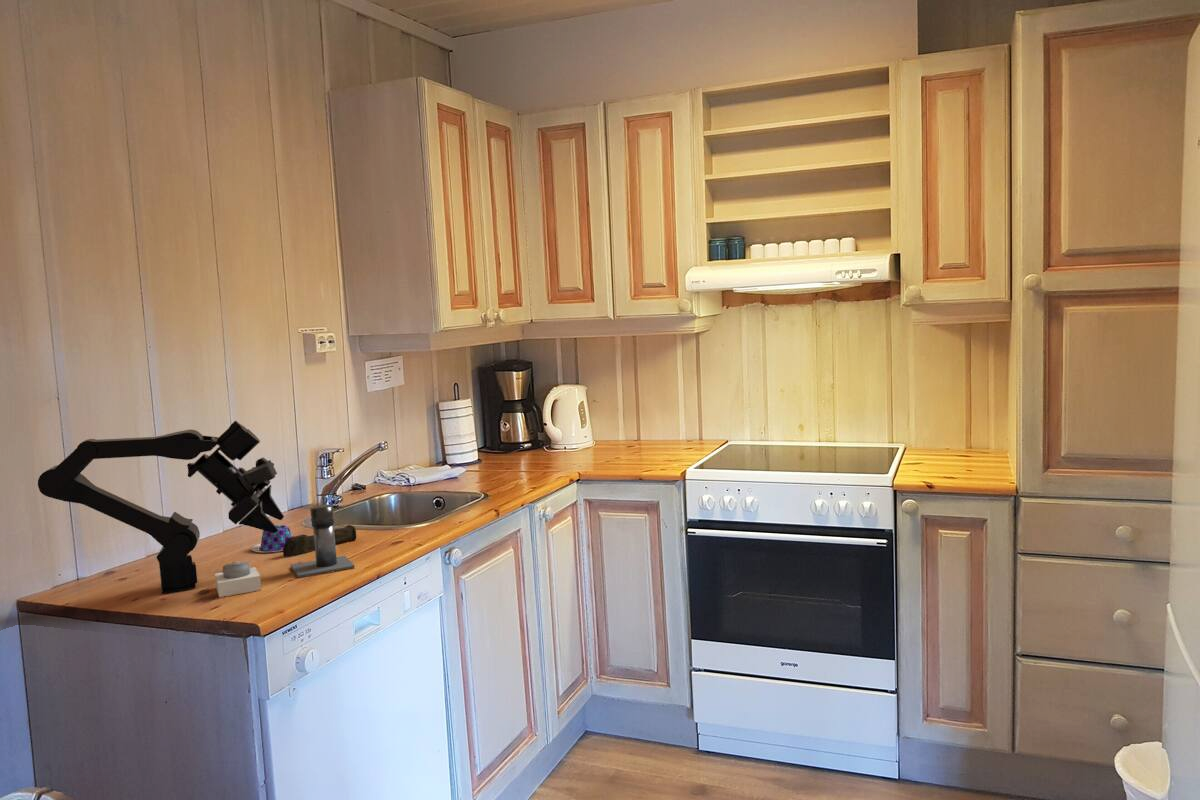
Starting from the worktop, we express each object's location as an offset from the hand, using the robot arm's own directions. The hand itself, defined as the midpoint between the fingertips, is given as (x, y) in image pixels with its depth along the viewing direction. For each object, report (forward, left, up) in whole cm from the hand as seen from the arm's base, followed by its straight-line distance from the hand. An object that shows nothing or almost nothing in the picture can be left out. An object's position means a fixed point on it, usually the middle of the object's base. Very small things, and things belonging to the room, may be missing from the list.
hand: (279, 524), depth 195 cm
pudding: (+2, +26, -11) cm, 29 cm away
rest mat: (+8, 0, -11) cm, 14 cm away
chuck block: (-10, -5, -11) cm, 16 cm away
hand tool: (+11, +18, -11) cm, 24 cm away
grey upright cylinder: (+9, 0, -10) cm, 14 cm away
